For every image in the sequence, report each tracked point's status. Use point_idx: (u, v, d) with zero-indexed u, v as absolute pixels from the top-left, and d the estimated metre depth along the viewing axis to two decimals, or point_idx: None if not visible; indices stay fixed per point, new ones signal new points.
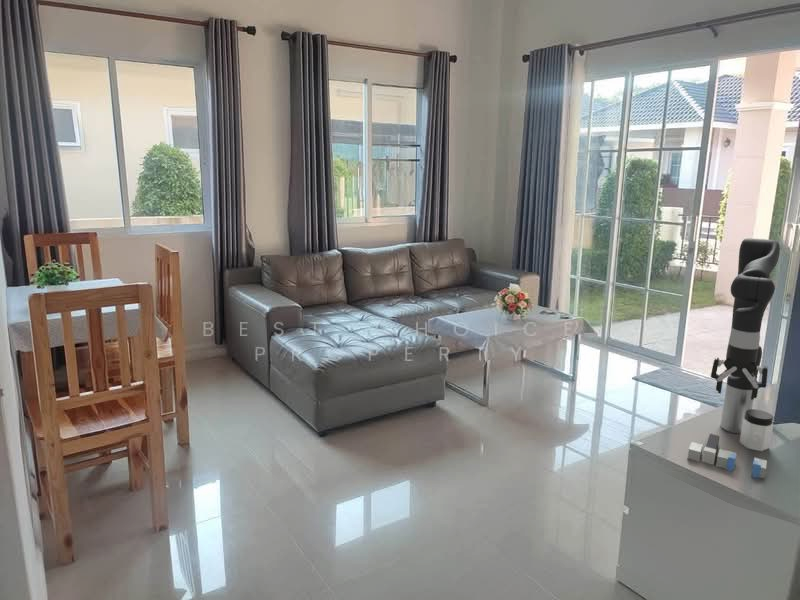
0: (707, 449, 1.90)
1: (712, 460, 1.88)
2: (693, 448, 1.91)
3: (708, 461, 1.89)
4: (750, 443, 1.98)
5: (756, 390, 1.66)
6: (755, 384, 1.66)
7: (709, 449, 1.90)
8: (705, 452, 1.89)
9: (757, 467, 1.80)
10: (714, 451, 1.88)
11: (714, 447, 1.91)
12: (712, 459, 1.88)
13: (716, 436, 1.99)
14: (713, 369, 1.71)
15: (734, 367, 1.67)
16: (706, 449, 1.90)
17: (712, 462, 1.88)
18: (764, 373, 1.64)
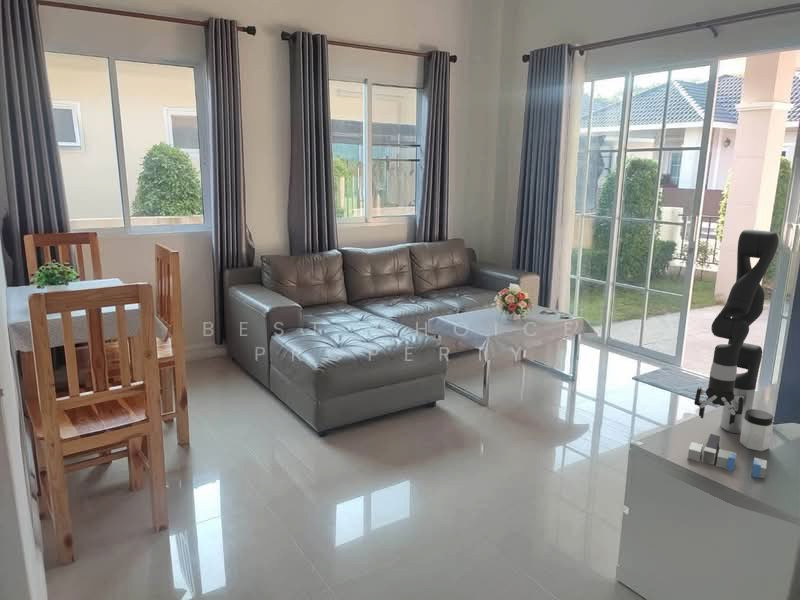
0: (707, 449, 1.90)
1: (712, 460, 1.88)
2: (693, 448, 1.91)
3: (708, 461, 1.89)
4: (750, 443, 1.98)
5: (733, 416, 1.90)
6: (732, 411, 1.90)
7: (709, 449, 1.90)
8: (705, 452, 1.89)
9: (757, 467, 1.80)
10: (714, 451, 1.88)
11: (714, 447, 1.91)
12: (712, 459, 1.88)
13: (717, 436, 1.99)
14: (696, 397, 1.95)
15: (714, 396, 1.91)
16: (706, 449, 1.90)
17: (712, 462, 1.88)
18: (740, 402, 1.88)
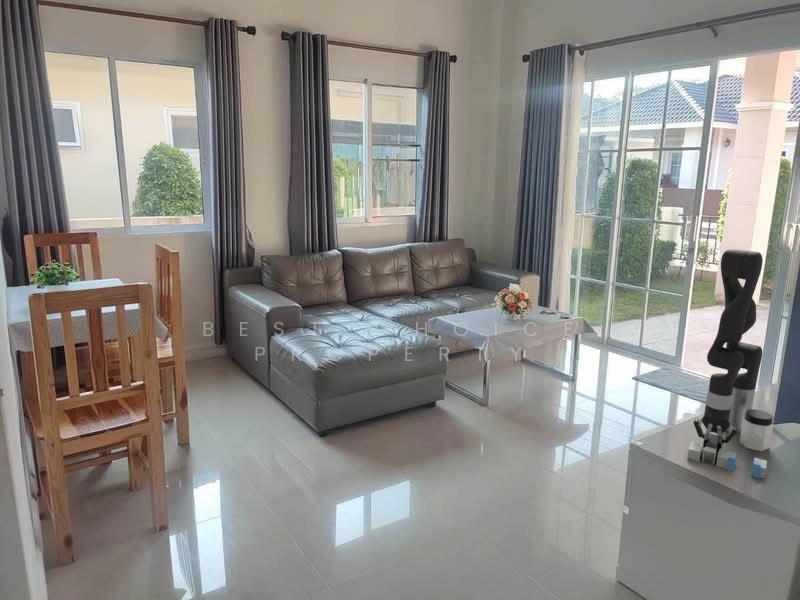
0: (707, 449, 1.90)
1: (712, 460, 1.88)
2: (693, 448, 1.91)
3: (708, 461, 1.89)
4: (750, 443, 1.98)
5: (720, 445, 1.95)
6: (720, 440, 1.94)
7: (709, 449, 1.90)
8: (705, 452, 1.89)
9: (757, 467, 1.80)
10: (714, 451, 1.88)
11: (714, 447, 1.91)
12: (712, 459, 1.88)
13: (716, 436, 1.99)
14: (697, 429, 1.97)
15: (710, 424, 1.94)
16: (706, 449, 1.90)
17: (712, 462, 1.88)
18: (732, 433, 1.91)
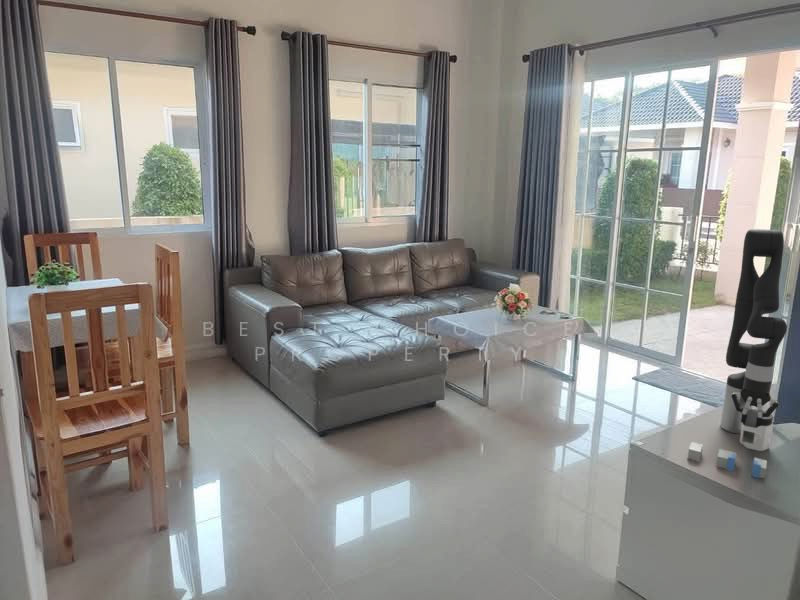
0: (746, 428, 1.82)
1: (752, 439, 1.81)
2: (693, 448, 1.91)
3: (748, 440, 1.81)
4: (750, 443, 1.98)
5: (760, 419, 1.86)
6: (760, 414, 1.85)
7: (749, 428, 1.82)
8: (745, 432, 1.81)
9: (757, 467, 1.80)
10: (754, 430, 1.81)
11: (754, 425, 1.84)
12: (752, 438, 1.81)
13: (754, 412, 1.91)
14: (735, 403, 1.89)
15: (749, 397, 1.86)
16: (745, 428, 1.82)
17: (752, 441, 1.81)
18: (773, 406, 1.83)
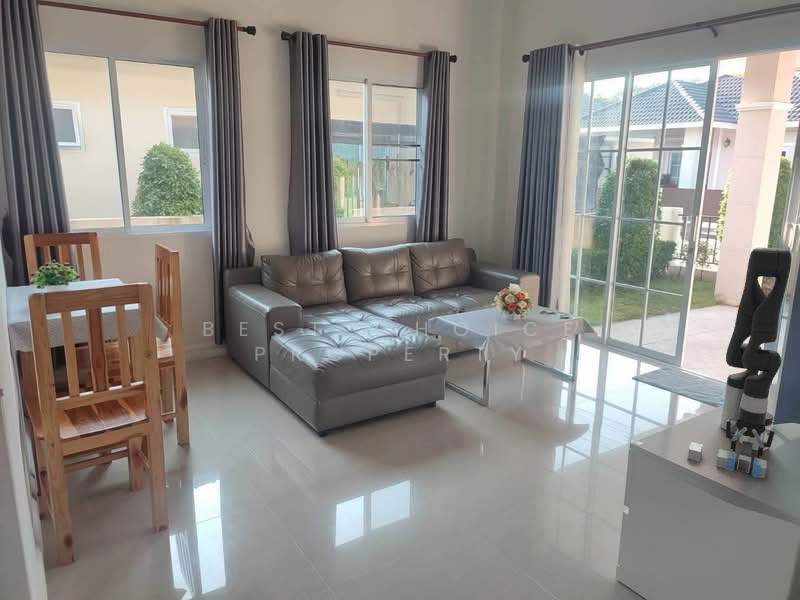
0: (742, 457, 1.85)
1: (747, 468, 1.83)
2: (693, 448, 1.91)
3: (743, 469, 1.84)
4: None
5: (761, 449, 1.88)
6: (761, 444, 1.87)
7: (744, 457, 1.85)
8: (740, 460, 1.84)
9: (757, 467, 1.80)
10: (749, 459, 1.83)
11: (749, 455, 1.86)
12: (747, 467, 1.83)
13: (749, 443, 1.94)
14: (727, 430, 1.92)
15: (745, 428, 1.88)
16: (741, 457, 1.85)
17: (747, 470, 1.83)
18: (771, 435, 1.85)
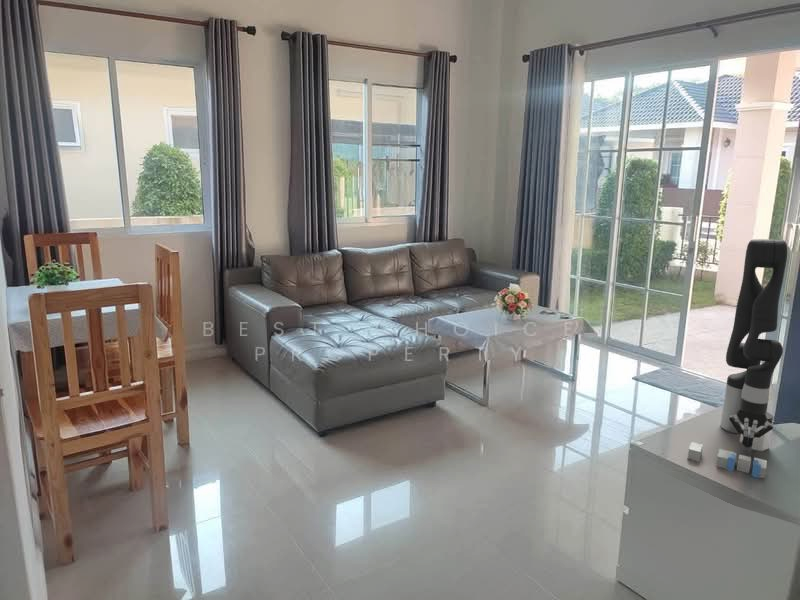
0: (742, 457, 1.85)
1: (747, 468, 1.83)
2: (693, 448, 1.91)
3: (743, 469, 1.84)
4: None
5: (751, 439, 1.88)
6: (752, 434, 1.87)
7: (744, 457, 1.85)
8: (740, 460, 1.84)
9: (757, 467, 1.80)
10: (749, 459, 1.83)
11: (748, 455, 1.86)
12: (747, 467, 1.83)
13: None
14: (735, 426, 1.90)
15: (745, 418, 1.87)
16: (741, 457, 1.85)
17: (747, 470, 1.83)
18: (767, 429, 1.84)
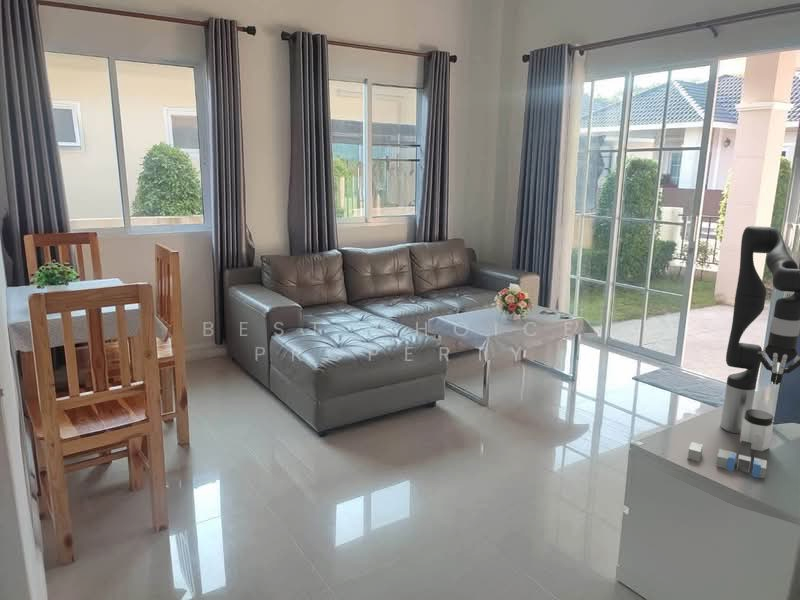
0: (742, 457, 1.85)
1: (747, 468, 1.83)
2: (693, 448, 1.91)
3: (743, 469, 1.84)
4: None
5: (780, 376, 1.80)
6: (781, 370, 1.79)
7: (744, 457, 1.85)
8: (740, 460, 1.84)
9: (757, 467, 1.80)
10: (749, 459, 1.83)
11: (748, 455, 1.86)
12: (747, 467, 1.83)
13: (748, 443, 1.94)
14: (763, 362, 1.82)
15: (774, 353, 1.79)
16: (741, 457, 1.85)
17: (747, 470, 1.83)
18: (798, 364, 1.77)
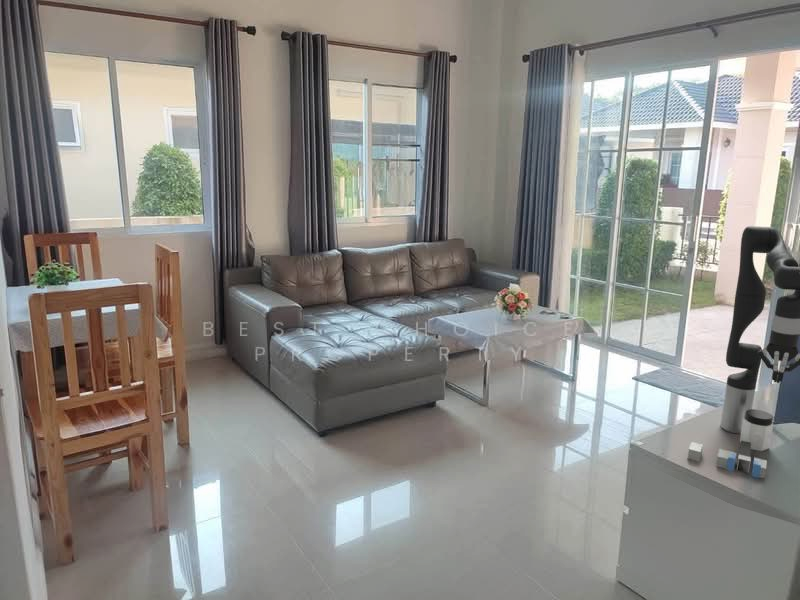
0: (742, 457, 1.85)
1: (747, 468, 1.83)
2: (693, 448, 1.91)
3: (743, 469, 1.84)
4: None
5: (782, 374, 1.80)
6: (783, 368, 1.79)
7: (744, 457, 1.85)
8: (740, 460, 1.84)
9: (757, 467, 1.80)
10: (749, 459, 1.83)
11: (748, 455, 1.86)
12: (747, 467, 1.83)
13: (748, 443, 1.94)
14: (764, 360, 1.82)
15: (776, 352, 1.79)
16: (741, 457, 1.85)
17: (747, 470, 1.83)
18: (799, 362, 1.76)
